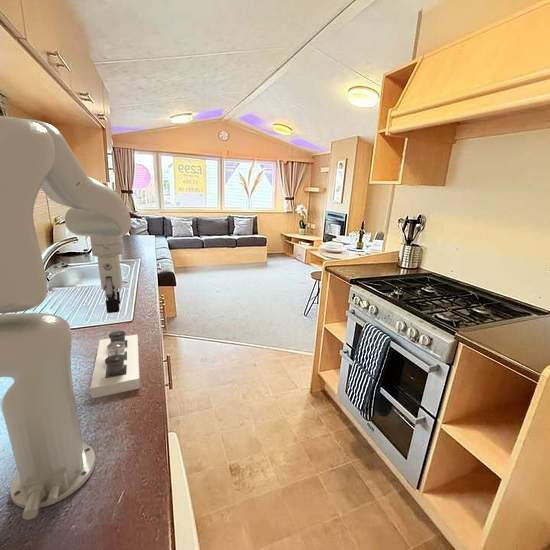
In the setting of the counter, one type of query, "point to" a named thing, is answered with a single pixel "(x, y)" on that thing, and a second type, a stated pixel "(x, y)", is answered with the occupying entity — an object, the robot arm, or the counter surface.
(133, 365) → the panel
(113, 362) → the knob near
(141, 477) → the counter surface
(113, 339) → the knob far
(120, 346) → the knob middle
